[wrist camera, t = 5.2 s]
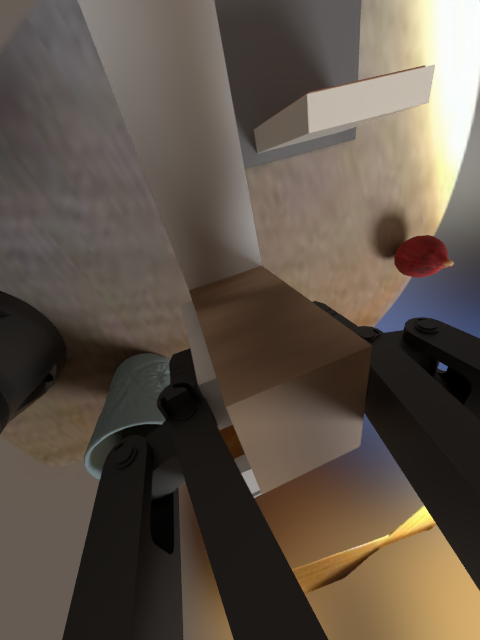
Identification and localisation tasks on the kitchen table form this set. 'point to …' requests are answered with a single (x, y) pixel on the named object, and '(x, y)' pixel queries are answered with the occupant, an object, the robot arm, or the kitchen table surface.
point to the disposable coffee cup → (240, 458)
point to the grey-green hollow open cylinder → (128, 406)
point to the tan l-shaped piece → (228, 241)
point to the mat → (285, 61)
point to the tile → (345, 107)
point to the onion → (421, 256)
